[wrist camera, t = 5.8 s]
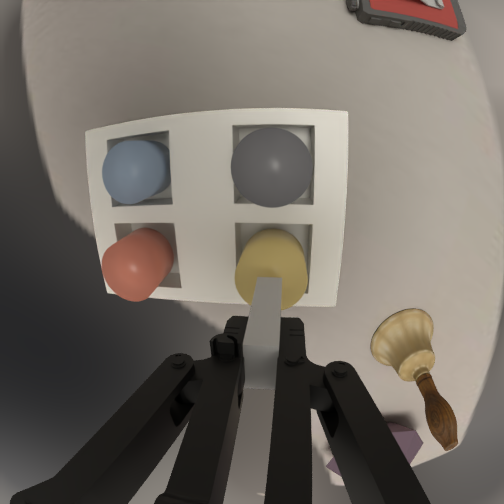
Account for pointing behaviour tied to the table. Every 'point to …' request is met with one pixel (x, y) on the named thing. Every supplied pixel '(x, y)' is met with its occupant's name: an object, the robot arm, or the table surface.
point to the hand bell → (416, 366)
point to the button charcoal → (271, 167)
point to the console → (227, 199)
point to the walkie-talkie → (413, 15)
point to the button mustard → (272, 265)
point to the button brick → (137, 264)
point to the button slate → (136, 170)
